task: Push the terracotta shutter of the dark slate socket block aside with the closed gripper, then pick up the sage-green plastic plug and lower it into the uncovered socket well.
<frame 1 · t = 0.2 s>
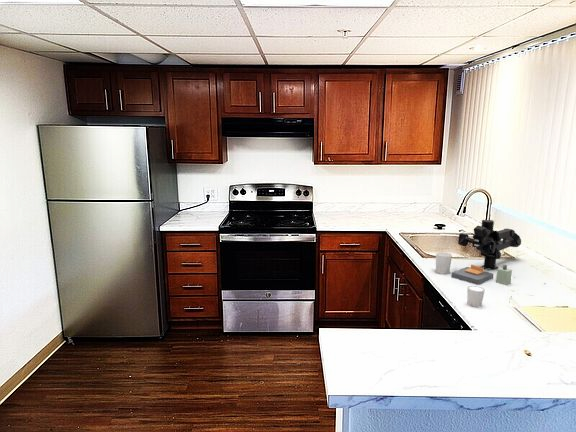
hand: (467, 246, 205), 16 cm above the counter, tool horizontal, fingers open, 9 cm apart
plug: (503, 282, 200), on the counter
shutter: (474, 269, 207), point 4 cm above the counter, slide at 0.0 cm
shot glass: (474, 304, 175), on the counter
socket: (472, 277, 207), on the counter
white cup: (442, 272, 215), on the counter
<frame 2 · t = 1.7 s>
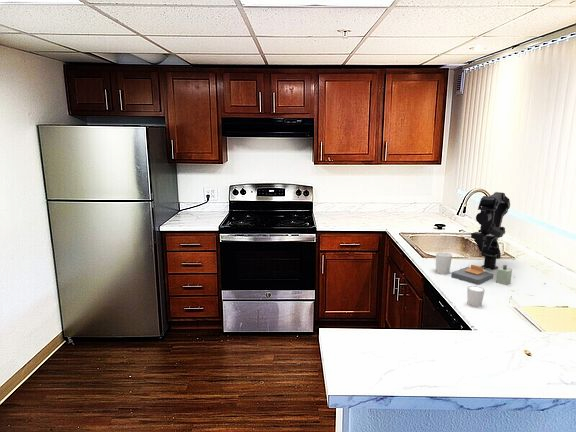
hand: (484, 250, 210), 13 cm above the counter, tool pointing down, fingers open, 6 cm apart
nothing on the counter moved.
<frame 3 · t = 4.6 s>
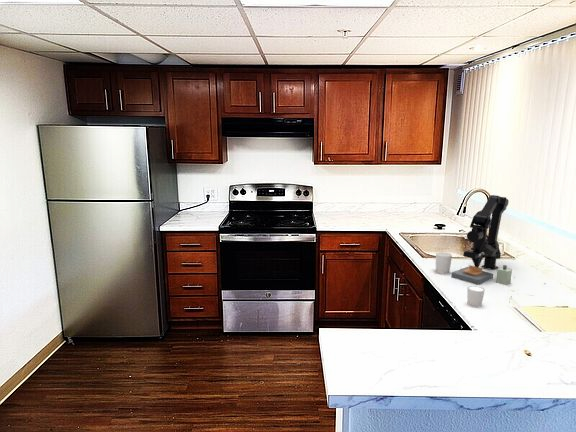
hand: (476, 268, 208), 4 cm above the counter, tool pointing down, fingers closed
shutter: (472, 270, 206), point 4 cm above the counter, slide at 1.6 cm, touching gripper
everything else where it was.
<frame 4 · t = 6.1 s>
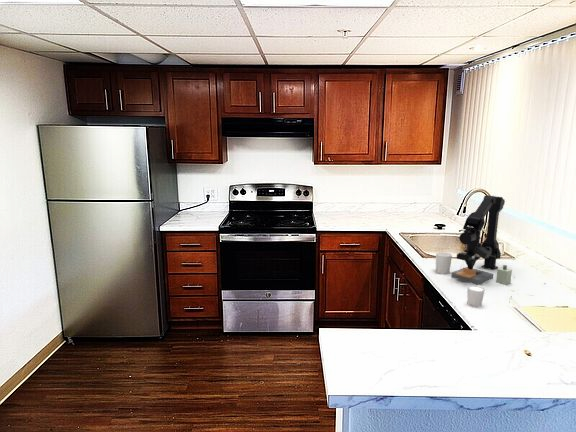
hand: (470, 270, 204), 4 cm above the counter, tool pointing down, fingers closed
shutter: (466, 272, 202), point 4 cm above the counter, slide at 7.8 cm, touching gripper
everything else where it was.
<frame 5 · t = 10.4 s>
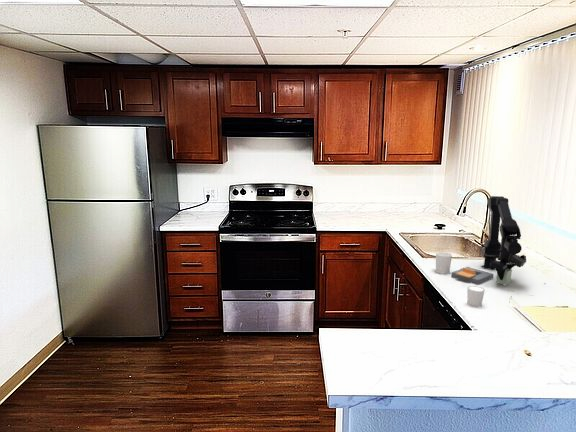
hand: (503, 278, 199), 2 cm above the counter, tool pointing down, fingers closed on plug, 4 cm apart
plug: (503, 282, 200), on the counter, touching gripper
shutter: (466, 272, 202), point 4 cm above the counter, slide at 7.8 cm
everything else where it was.
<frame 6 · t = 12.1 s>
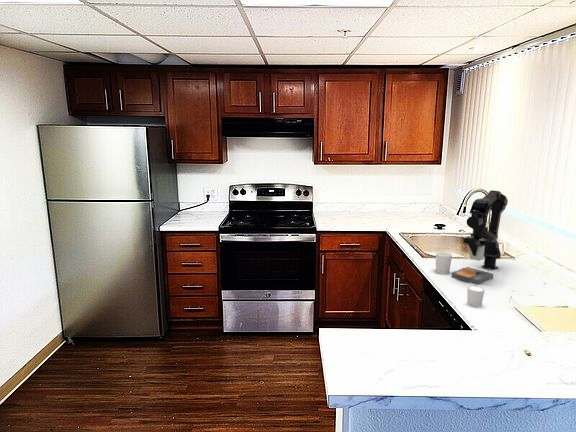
hand: (476, 254, 205), 12 cm above the counter, tool pointing down, fingers closed on plug, 4 cm apart
plug: (476, 258, 205), point 10 cm above the counter, touching gripper
everything else where it was.
when the fingers open (4 cm above the counter, at t = 13.9 s): plug drops 2 cm, resting on socket.
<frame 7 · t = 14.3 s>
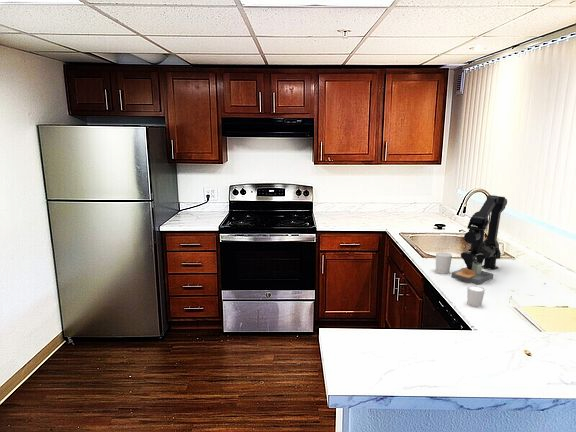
hand: (474, 269, 207), 4 cm above the counter, tool pointing down, fingers open, 9 cm apart
plug: (473, 276, 207), resting on socket
shutter: (465, 272, 202), point 4 cm above the counter, slide at 8.4 cm, touching gripper
everything else where it was.
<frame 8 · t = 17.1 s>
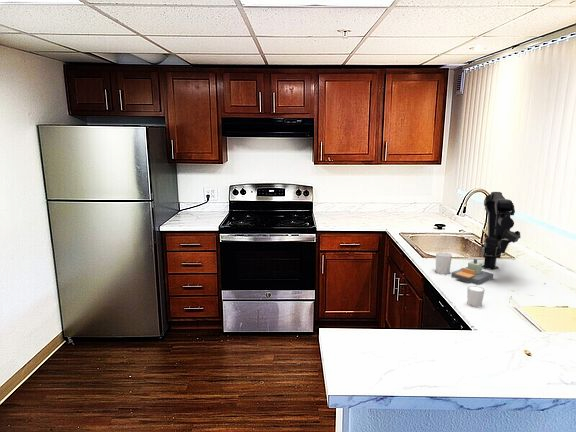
hand: (498, 254, 205), 12 cm above the counter, tool pointing down, fingers open, 9 cm apart
shutter: (465, 272, 202), point 4 cm above the counter, slide at 8.4 cm
everything else where it was.
at the end: shutter slide at 8.4 cm; plug 0.0 cm from the target spot on the socket, point 0.5 cm above the socket's base; plug tilted 0° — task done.
